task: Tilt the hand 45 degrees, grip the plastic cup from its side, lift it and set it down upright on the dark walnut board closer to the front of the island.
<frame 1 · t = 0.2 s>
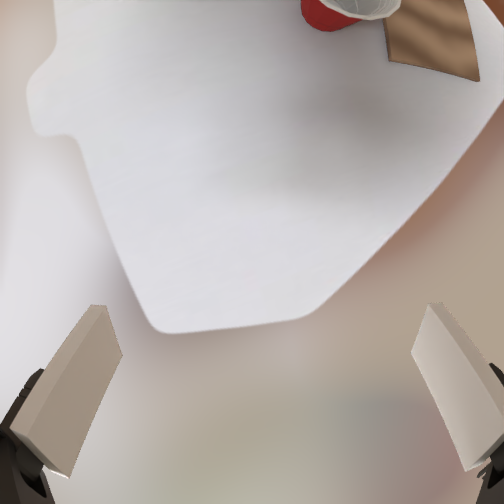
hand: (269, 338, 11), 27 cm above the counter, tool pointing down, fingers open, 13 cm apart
walnut board: (429, 22, 27), on the counter
plastic cup: (325, 14, 28), on the counter
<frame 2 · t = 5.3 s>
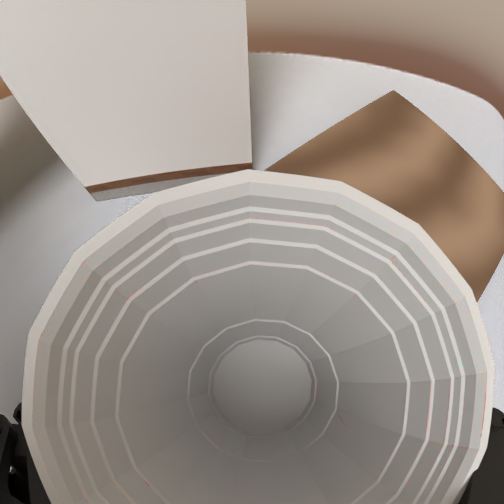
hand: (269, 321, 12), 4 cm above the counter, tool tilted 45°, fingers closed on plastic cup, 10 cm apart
walnut board: (416, 199, 19), on the counter
plastic cup: (266, 386, 16), on the counter, touching gripper
white dispenser: (173, 135, 22), on the counter
when the fingers open (7 cm above the counter, at t = 11.7 s): plastic cup moves 3 cm, resting on walnut board.
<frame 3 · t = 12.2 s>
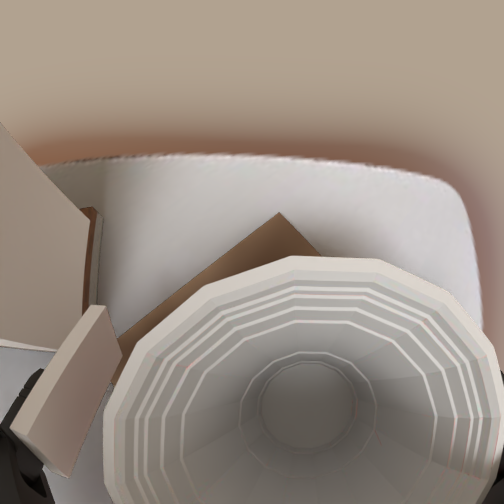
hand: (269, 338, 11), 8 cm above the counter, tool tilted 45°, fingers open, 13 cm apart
walnut board: (265, 383, 18), on the counter
plastic cup: (311, 405, 16), point 1 cm above the counter, touching gripper, walnut board
white dispenser: (43, 287, 20), on the counter
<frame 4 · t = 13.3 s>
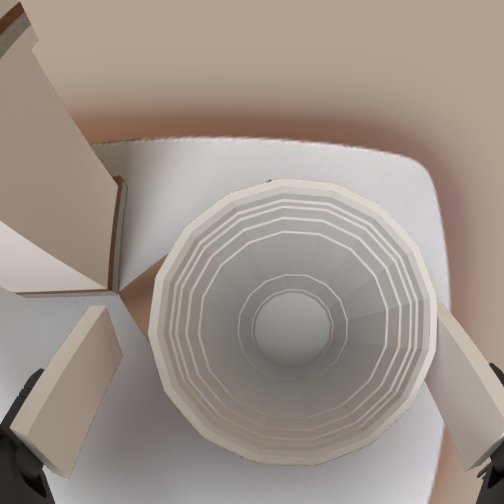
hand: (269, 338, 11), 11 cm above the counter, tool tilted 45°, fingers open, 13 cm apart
walnut board: (258, 312, 23), on the counter
plastic cup: (295, 329, 21), point 1 cm above the counter, touching walnut board
white dispenser: (72, 243, 26), on the counter
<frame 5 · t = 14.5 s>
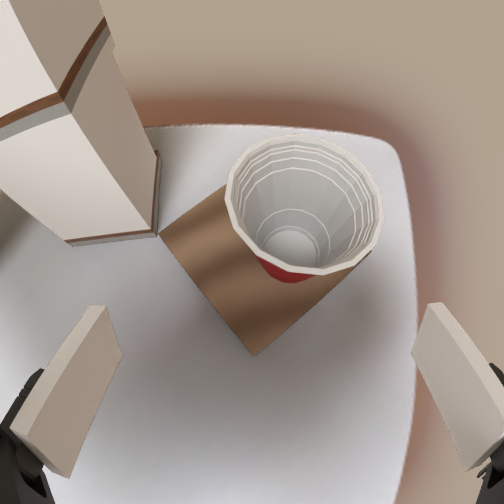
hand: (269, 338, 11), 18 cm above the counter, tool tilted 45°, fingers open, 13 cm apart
walnut board: (264, 245, 32), on the counter
plastic cup: (291, 256, 30), point 1 cm above the counter, touching walnut board
white dispenser: (116, 202, 34), on the counter
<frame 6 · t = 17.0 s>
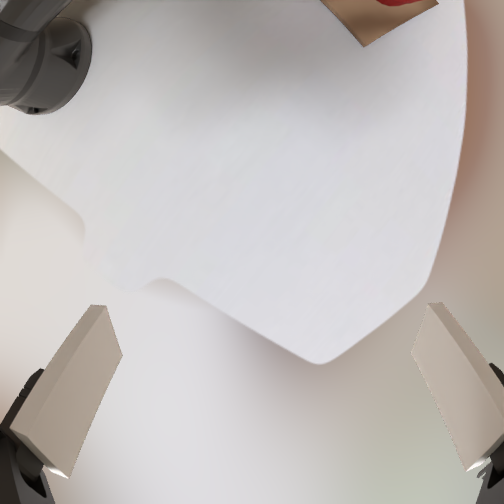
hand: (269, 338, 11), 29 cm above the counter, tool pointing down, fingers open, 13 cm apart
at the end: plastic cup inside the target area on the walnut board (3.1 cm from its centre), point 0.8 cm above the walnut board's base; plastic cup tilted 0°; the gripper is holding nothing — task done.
